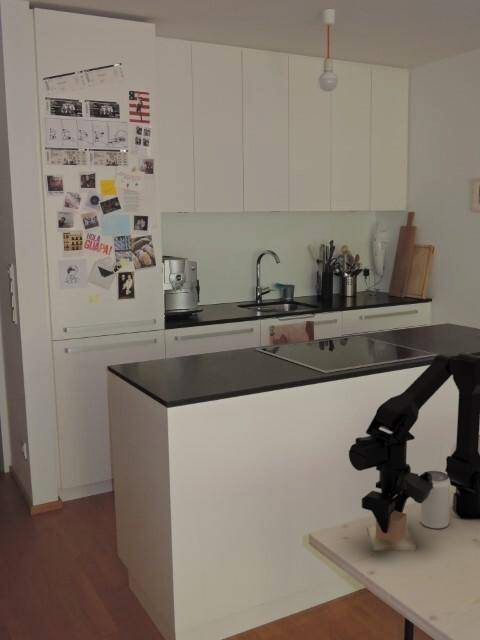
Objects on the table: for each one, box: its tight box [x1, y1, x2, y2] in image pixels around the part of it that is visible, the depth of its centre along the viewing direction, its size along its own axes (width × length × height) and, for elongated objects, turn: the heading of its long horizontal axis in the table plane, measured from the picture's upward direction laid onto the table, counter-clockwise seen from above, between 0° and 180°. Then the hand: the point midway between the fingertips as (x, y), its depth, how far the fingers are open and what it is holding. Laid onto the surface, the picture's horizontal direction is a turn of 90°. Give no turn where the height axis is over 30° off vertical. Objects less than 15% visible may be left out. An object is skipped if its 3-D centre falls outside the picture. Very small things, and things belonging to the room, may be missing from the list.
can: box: [419, 470, 451, 530], centre depth 153 cm, size 6×6×12 cm
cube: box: [375, 511, 407, 544], centre depth 146 cm, size 5×5×5 cm
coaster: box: [366, 525, 417, 551], centre depth 146 cm, size 9×9×1 cm
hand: (391, 526), depth 146 cm, fingers open, 6 cm apart
